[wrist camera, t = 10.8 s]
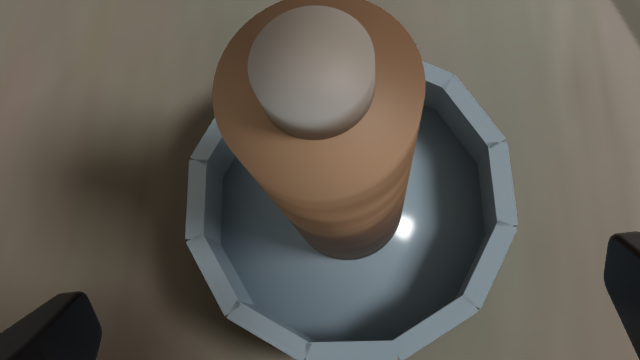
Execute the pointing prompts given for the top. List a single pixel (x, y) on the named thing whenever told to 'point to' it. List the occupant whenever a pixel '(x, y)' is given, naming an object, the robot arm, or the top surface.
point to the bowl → (370, 272)
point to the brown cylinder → (325, 117)
